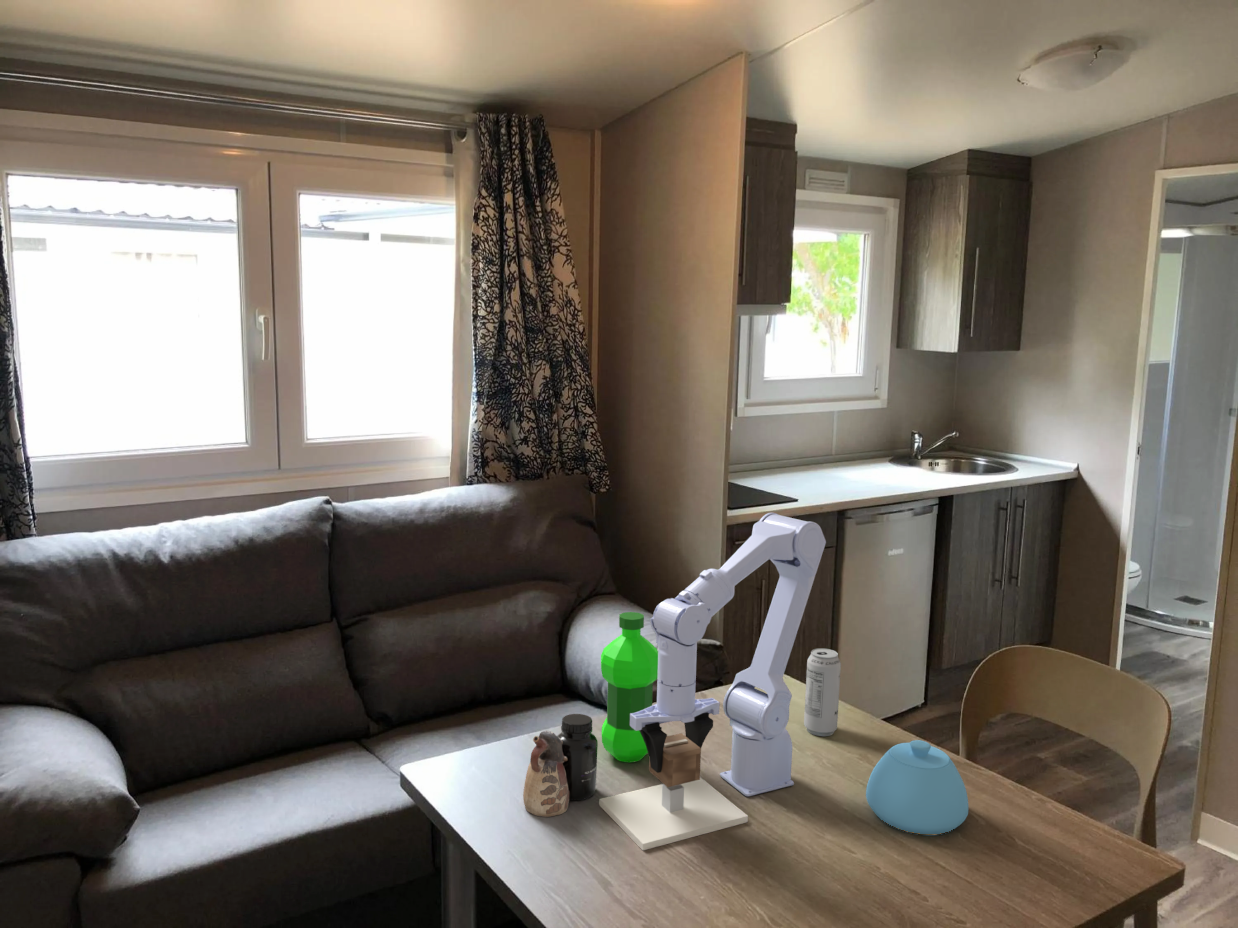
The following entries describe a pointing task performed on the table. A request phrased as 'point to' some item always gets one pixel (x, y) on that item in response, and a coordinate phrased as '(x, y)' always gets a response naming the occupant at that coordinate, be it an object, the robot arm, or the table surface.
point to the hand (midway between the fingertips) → (673, 765)
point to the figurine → (546, 777)
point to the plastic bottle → (627, 687)
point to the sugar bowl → (917, 789)
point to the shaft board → (671, 812)
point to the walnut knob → (679, 761)
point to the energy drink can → (822, 692)
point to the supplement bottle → (579, 755)
